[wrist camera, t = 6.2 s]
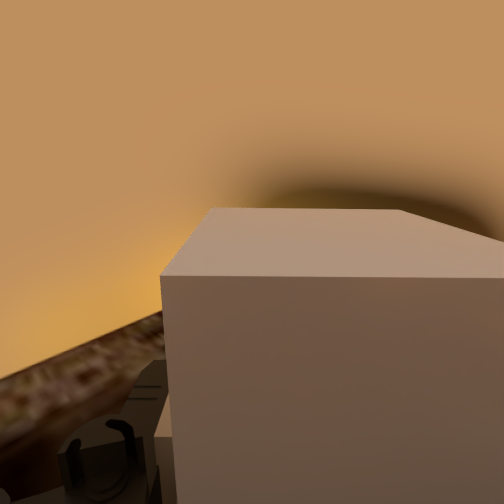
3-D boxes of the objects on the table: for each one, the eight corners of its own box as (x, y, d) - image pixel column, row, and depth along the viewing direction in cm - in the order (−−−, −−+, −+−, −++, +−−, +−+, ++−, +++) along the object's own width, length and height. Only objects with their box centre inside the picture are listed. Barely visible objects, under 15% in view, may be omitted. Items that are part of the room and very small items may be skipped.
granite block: (198, 790, 7) (159, 275, 3) (219, 526, 11) (211, 207, 8) (425, 783, 7) (620, 279, 3) (350, 525, 12) (399, 210, 8)
